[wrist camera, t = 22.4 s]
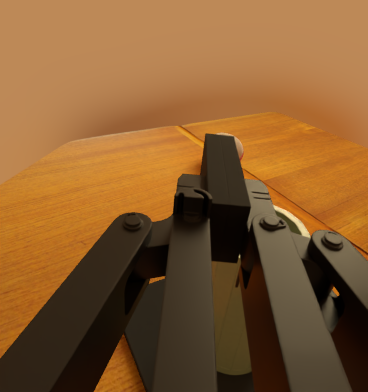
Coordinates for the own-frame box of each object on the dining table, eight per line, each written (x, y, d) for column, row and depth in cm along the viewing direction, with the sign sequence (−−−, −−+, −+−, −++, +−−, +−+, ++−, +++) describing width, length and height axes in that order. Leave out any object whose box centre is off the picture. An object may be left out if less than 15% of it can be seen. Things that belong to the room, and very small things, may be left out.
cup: (216, 391, 23) (248, 279, 16) (176, 317, 28) (188, 209, 21) (284, 353, 26) (334, 246, 19) (236, 293, 31) (264, 192, 24)
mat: (207, 556, 16) (209, 554, 16) (111, 300, 29) (110, 296, 29) (416, 386, 25) (420, 383, 25) (270, 246, 38) (271, 243, 38)
